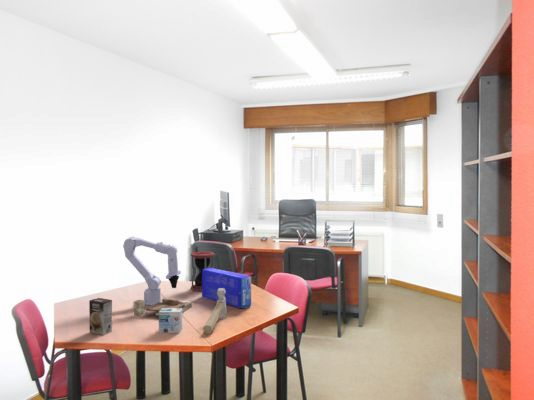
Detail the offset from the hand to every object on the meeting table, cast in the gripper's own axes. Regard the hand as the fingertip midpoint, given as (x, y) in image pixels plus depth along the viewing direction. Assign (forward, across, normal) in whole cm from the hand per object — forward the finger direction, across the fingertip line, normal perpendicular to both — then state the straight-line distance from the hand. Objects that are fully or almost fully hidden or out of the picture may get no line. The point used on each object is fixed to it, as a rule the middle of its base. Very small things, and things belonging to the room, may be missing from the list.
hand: (174, 287), depth 270 cm
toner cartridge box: (+11, +13, -28) cm, 33 cm away
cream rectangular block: (+9, -28, +8) cm, 30 cm away
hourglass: (+10, +38, 0) cm, 40 cm away
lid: (+6, -21, -6) cm, 22 cm away
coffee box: (+8, -58, +10) cm, 59 cm away
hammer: (+11, -30, -40) cm, 51 cm away
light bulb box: (+10, -46, -22) cm, 52 cm away
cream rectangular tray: (+9, -15, -5) cm, 19 cm away
